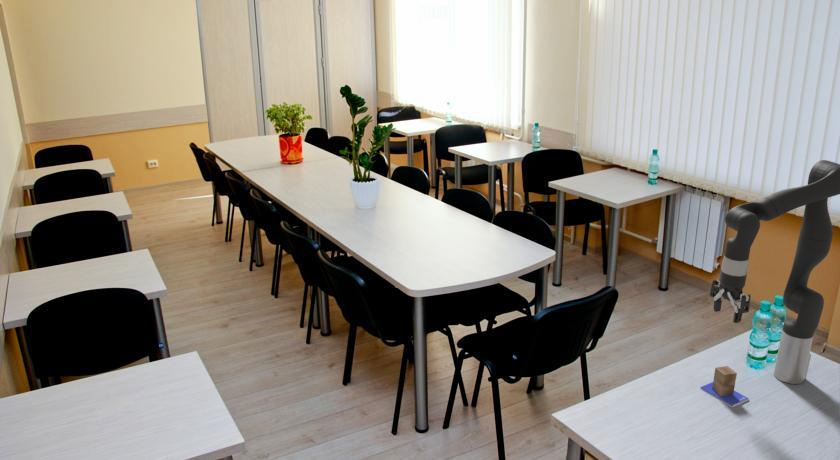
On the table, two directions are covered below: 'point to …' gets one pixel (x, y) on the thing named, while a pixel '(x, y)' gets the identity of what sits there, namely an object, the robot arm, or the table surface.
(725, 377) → the walnut block
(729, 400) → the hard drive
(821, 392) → the table surface
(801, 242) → the robot arm
